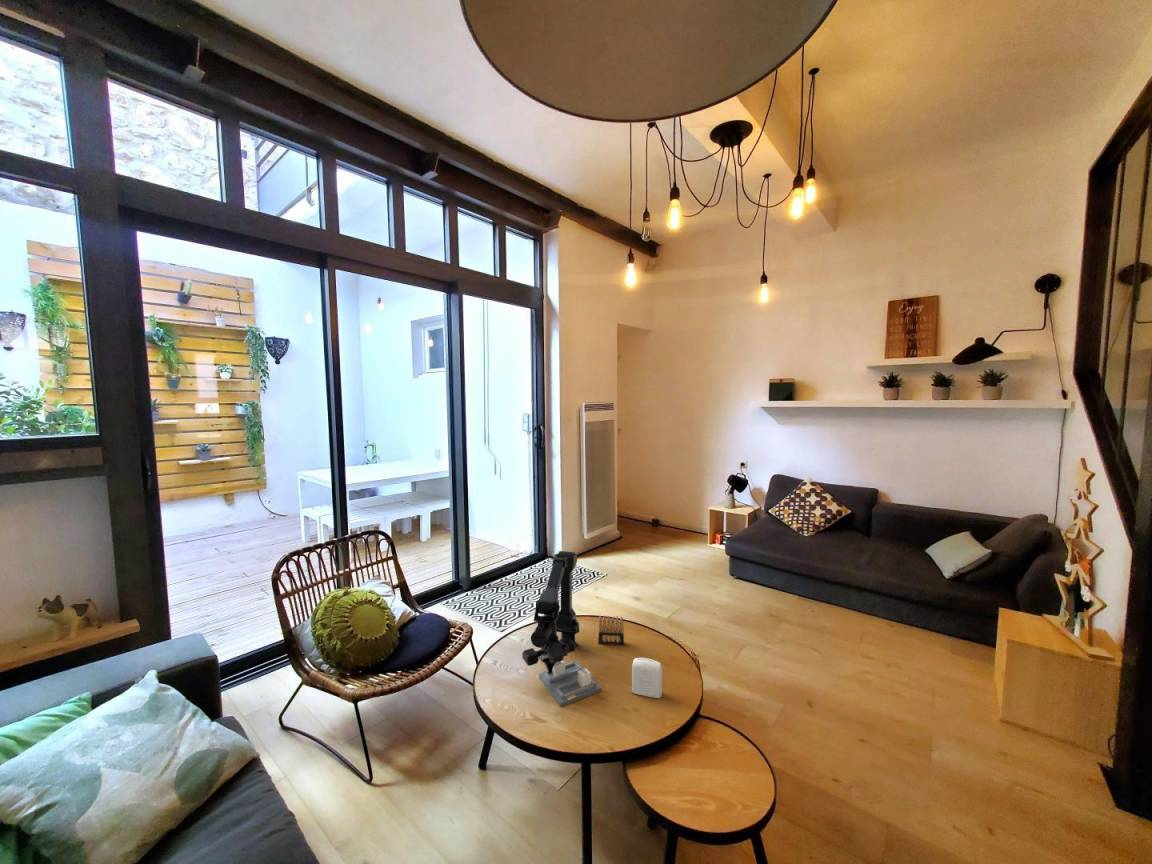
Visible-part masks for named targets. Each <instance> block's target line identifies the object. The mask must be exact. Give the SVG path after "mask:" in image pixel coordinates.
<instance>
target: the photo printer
mask: <svg viewBox="0 0 1152 864" xmlns="http://www.w3.org/2000/svg"><path fill="white" fill-rule="evenodd" d="M632 661H633V662H632V665H631V692H632V693H633V694H635V695H639V696H643V697H648V698H649V697H650V698H653V699H654V698H655V699H661V697H662V695H663V694H662V693H663V686H662V685H663V684H662V682H663V681H662V680H663V668H662V664H661V662H659V661H657V660H654V659H652V658H647V657H635V658H634V659H633V660H632Z"/></svg>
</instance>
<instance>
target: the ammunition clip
mask: <svg viewBox="0 0 1152 864" xmlns="http://www.w3.org/2000/svg"><path fill="white" fill-rule="evenodd" d="M624 627H625V626H624V618H623V616H620V619H619V617H618V615H617V616H616V617H614V615H612V616H611V618H610V615H607V617H606V615H603V617H602V616H601V615H599V617H598V636H597V637H598V638H597V639H598V641H597V642H598V643H597V644H598V645H610V644H613V645H612V646H624V645H625V636H624V635H625V634H624V633H625V632H624Z"/></svg>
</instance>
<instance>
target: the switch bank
mask: <svg viewBox="0 0 1152 864" xmlns="http://www.w3.org/2000/svg"><path fill="white" fill-rule="evenodd" d="M582 669H585V667H583V665H582V664H581V663H580V662H579V661H578V660H574V661H570V662H568V663H565V674H562V675H559V676H556V677H555V675H554V674H553V669H552V672H551V673H550V674H549V673H548V671H547V670H544V671H543V672H540V673H538V677H539V679H540V681H541V682H542V683H543V685H544V686H545V688H546V689H547V691H548V692H549V693H550V695H551V696H552V697H553V698H554V700H555V702H556V703H557V704H558V706H559V707H563V706H566V705H568V704H571V703H574V702H576V701H578V700H581V699H584V698H586V697H589V696H592V695H594V694H596V693H599V692H601V691H602V686H601V685H600V684H599V683H598V682H597V681H596V679H594V678H593V676H591V684H590V685H588V686H585V687H583V688H581V687H580V686H579V685H578V671H579V670H582Z"/></svg>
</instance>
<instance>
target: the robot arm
mask: <svg viewBox="0 0 1152 864" xmlns="http://www.w3.org/2000/svg"><path fill="white" fill-rule="evenodd" d="M577 563H578V555H577V553H575V552H574V551H566V550H559V551H558V553H555V554H554V555H553V559H552V567H551V571H550V574H549V578H548V581H547V585H546V587H545V590H544V591H542V592H541V594H540V596H539V598H538V600H537V602H536V605H535V610H534V611H535V612H534V616H533V622H536V623H537V626H536V627H535V629H534V631H533V632H532V634H531V636H530V641H531V644H532V645H533V646H534V647H536V648H539V650H535V648H533V647H531V648H528V649H524V650H523V651H522V655H521V656H522V659H523V661H524V662H525V664H526V665H527V666H533V665H536V664H538V662H539V660H540V661H541V662H542V663H543V664H544V666H545V668H546V671H548V673H549V674H550V673H551V672H552V669H553V666H554V664H555V663H556V662H559V661H562V660H563V661H564V658H565V657H567V656H568V654H571V653H572V652H573V653H574V652H575V651H576V648H577V647H579V644H578V642H576V635H577V634H578V633H579V632H580V623H579V621H578V619H577V614H576V612H575V610H574V608H573V571H574V570H575V568H576V566H577ZM559 592H560V598H559V597H558V595H559ZM559 599H560V600H559ZM557 633H560V639H559V636H558V635H557Z"/></svg>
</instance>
